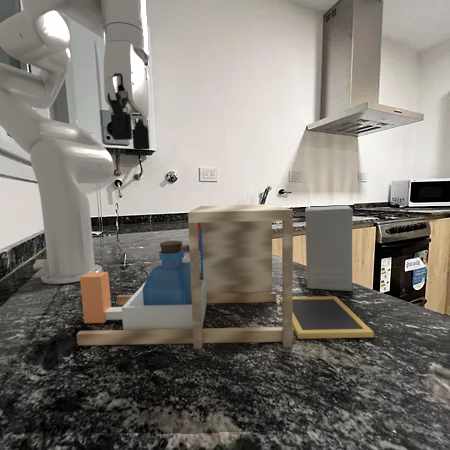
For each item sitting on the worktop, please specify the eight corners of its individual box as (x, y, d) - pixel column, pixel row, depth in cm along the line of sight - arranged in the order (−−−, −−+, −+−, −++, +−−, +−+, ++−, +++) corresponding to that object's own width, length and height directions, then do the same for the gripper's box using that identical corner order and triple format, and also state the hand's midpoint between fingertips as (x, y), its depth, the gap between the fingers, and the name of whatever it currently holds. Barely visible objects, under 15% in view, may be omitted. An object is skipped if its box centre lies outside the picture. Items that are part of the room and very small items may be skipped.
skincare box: (348, 281, 54) (350, 205, 52) (352, 294, 47) (355, 207, 45) (305, 278, 57) (306, 205, 55) (304, 289, 50) (305, 207, 48)
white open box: (68, 337, 34) (62, 286, 34) (104, 305, 45) (101, 265, 44) (200, 335, 34) (198, 283, 33) (207, 302, 44) (205, 262, 43)
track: (77, 345, 33) (76, 334, 33) (119, 303, 46) (118, 295, 46) (293, 341, 33) (294, 330, 33) (275, 300, 46) (275, 291, 45)
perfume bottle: (187, 335, 35) (183, 247, 33) (145, 331, 36) (139, 246, 35) (201, 314, 41) (198, 239, 39) (165, 311, 42) (161, 238, 41)
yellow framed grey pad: (298, 338, 33) (298, 333, 33) (280, 301, 45) (280, 297, 45) (373, 337, 33) (373, 332, 33) (335, 300, 45) (336, 296, 45)
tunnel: (193, 348, 32) (187, 212, 30) (204, 298, 47) (201, 206, 45) (292, 346, 32) (293, 209, 30) (271, 297, 47) (270, 204, 45)
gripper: (124, 70, 56) (130, 152, 58) (78, 15, 38) (89, 135, 40) (159, 69, 55) (164, 151, 58) (129, 13, 38) (137, 133, 40)
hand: (133, 144), depth 49 cm, fingers open, 9 cm apart
